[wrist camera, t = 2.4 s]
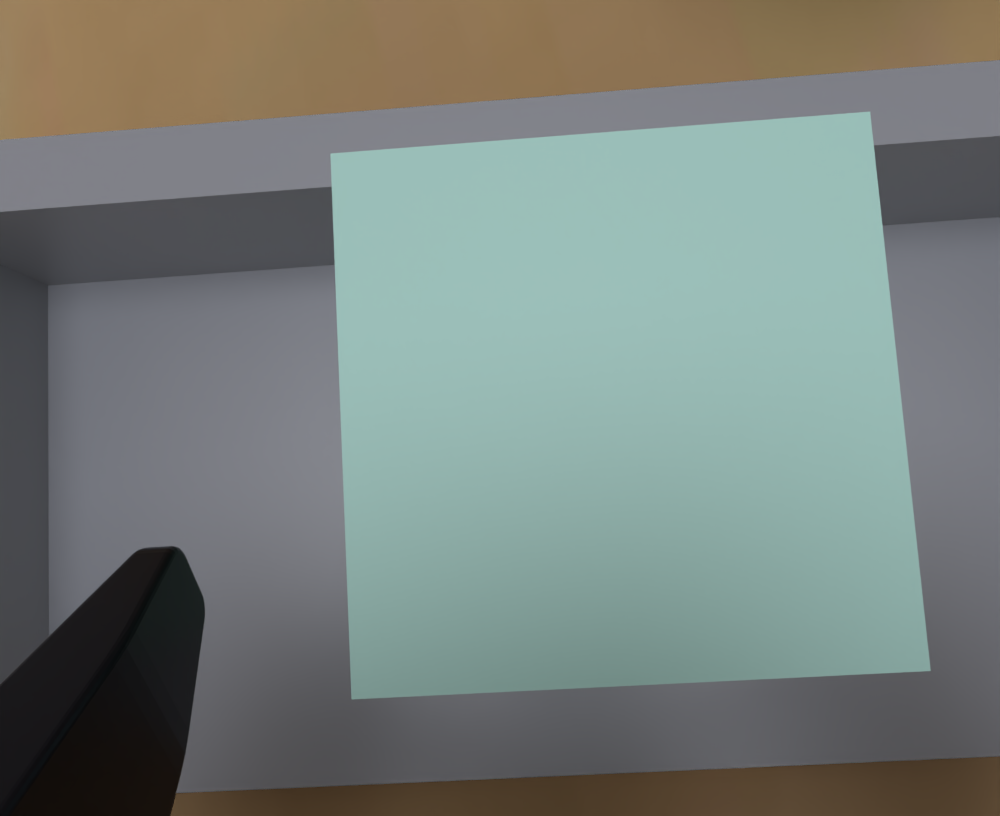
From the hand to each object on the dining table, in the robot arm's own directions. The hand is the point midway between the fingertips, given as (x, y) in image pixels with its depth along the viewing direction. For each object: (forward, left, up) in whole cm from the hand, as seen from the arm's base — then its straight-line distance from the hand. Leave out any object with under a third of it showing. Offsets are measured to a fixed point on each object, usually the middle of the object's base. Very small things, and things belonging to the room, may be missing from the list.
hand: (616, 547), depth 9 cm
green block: (+1, +1, -9) cm, 9 cm away
